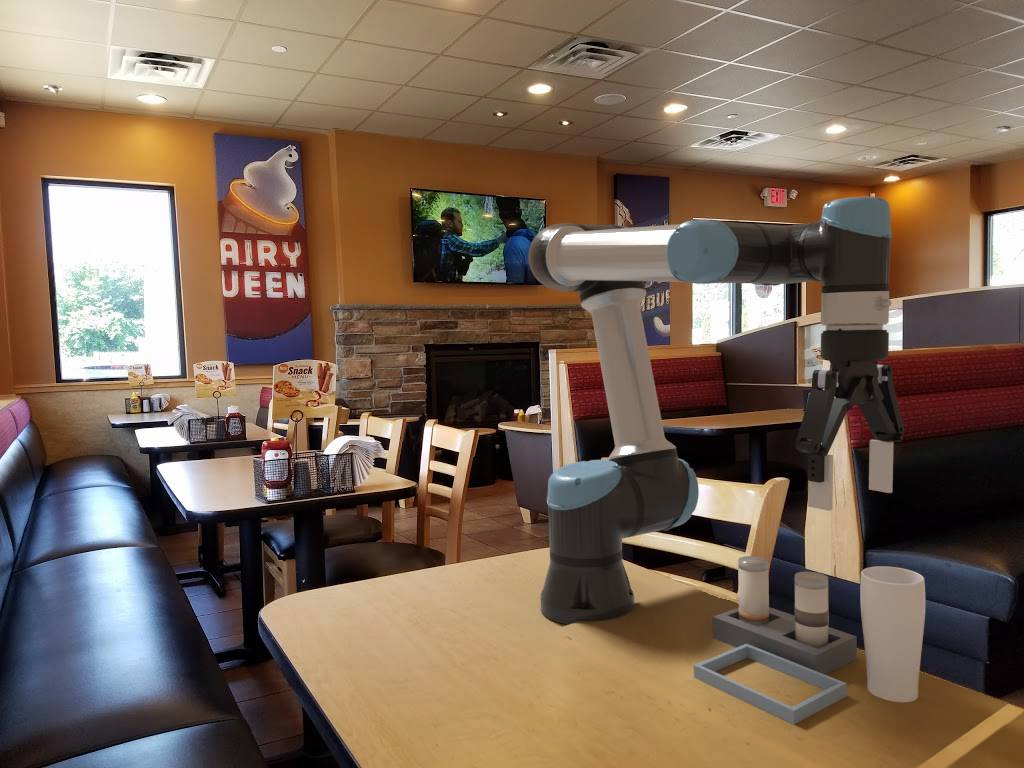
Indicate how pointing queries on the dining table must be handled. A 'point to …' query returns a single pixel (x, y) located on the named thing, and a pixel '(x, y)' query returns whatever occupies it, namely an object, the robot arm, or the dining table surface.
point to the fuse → (753, 590)
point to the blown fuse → (811, 609)
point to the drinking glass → (892, 630)
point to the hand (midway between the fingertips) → (851, 499)
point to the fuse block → (786, 640)
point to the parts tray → (795, 714)
